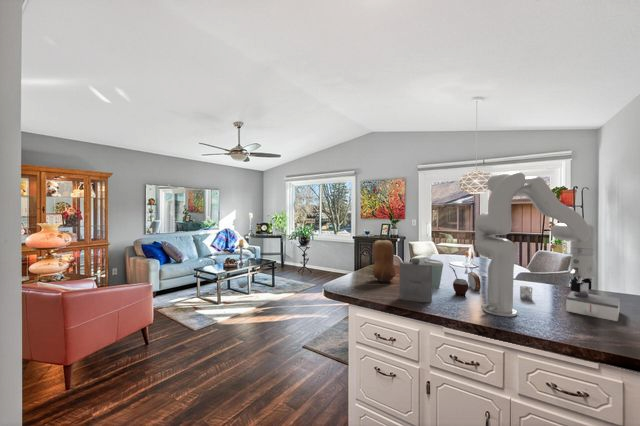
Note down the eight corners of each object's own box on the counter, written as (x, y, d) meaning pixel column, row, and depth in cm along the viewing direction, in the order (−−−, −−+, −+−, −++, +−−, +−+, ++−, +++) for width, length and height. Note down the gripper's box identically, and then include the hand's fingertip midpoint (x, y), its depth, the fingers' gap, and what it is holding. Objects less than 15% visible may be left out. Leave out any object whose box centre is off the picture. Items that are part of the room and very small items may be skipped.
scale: (617, 322, 119) (618, 306, 119) (565, 311, 130) (566, 297, 130) (619, 312, 131) (619, 298, 130) (571, 303, 142) (571, 290, 142)
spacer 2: (584, 298, 130) (585, 284, 130) (571, 295, 135) (571, 281, 135) (590, 296, 132) (590, 283, 132) (576, 293, 137) (577, 280, 137)
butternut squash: (382, 277, 190) (382, 238, 189) (400, 282, 179) (400, 240, 179) (367, 281, 181) (368, 239, 180) (385, 285, 170) (386, 241, 170)
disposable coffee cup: (444, 286, 171) (445, 259, 171) (441, 290, 162) (441, 262, 162) (425, 283, 177) (426, 258, 176) (421, 287, 168) (421, 260, 167)
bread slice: (481, 292, 159) (481, 276, 159) (474, 292, 160) (475, 276, 159) (472, 285, 174) (473, 270, 174) (466, 285, 174) (467, 270, 174)
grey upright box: (398, 299, 145) (399, 258, 144) (399, 296, 150) (400, 256, 150) (431, 303, 139) (432, 260, 139) (431, 300, 145) (432, 258, 145)
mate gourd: (471, 296, 151) (471, 267, 150) (459, 298, 148) (460, 268, 148) (459, 292, 158) (459, 264, 157) (447, 294, 155) (448, 265, 155)
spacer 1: (528, 301, 144) (528, 288, 144) (517, 298, 149) (517, 286, 149) (534, 300, 147) (534, 287, 147) (523, 297, 151) (523, 285, 151)
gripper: (582, 254, 126) (581, 294, 126) (602, 251, 134) (601, 290, 134) (561, 251, 133) (560, 290, 133) (581, 249, 140) (580, 286, 141)
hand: (581, 290), depth 134 cm, fingers open, 9 cm apart
